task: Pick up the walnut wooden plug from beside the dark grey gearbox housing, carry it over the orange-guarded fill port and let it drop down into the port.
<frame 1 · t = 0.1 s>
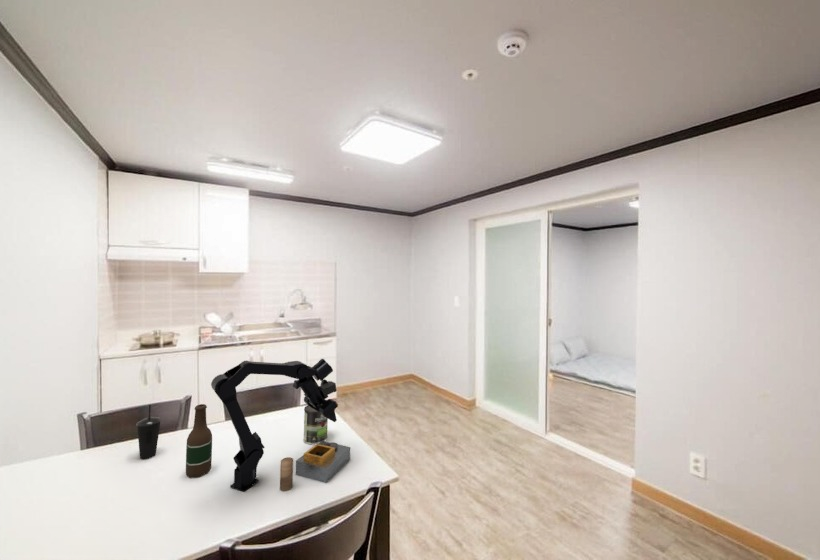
hand: (330, 417, 130), 15 cm above the table, tool tilted 35°, fingers open, 9 cm apart
gearbox housing: (323, 466, 121), on the table
wooden plug: (286, 487, 109), on the table
coffee can: (315, 439, 143), on the table
beer bottle: (198, 472, 116), on the table
drinking cup: (148, 456, 126), on the table
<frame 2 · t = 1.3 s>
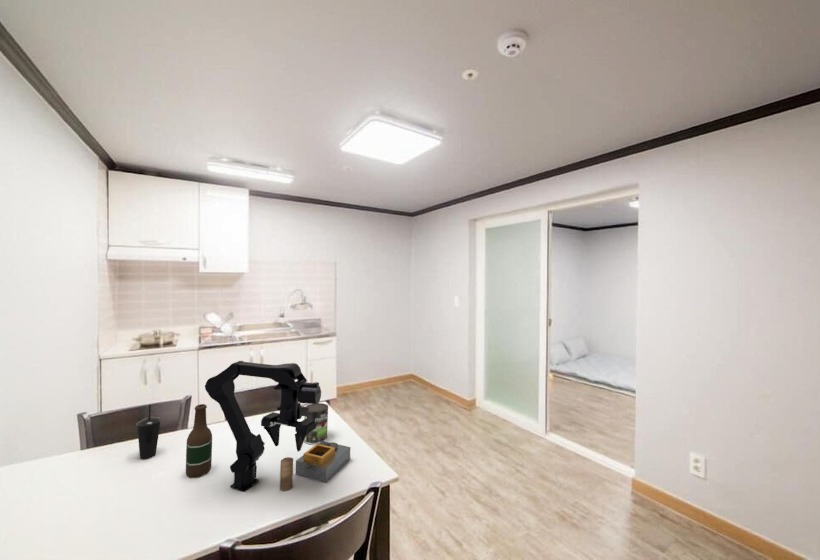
hand: (287, 448, 109), 13 cm above the table, tool pointing down, fingers open, 9 cm apart
nothing on the table moved.
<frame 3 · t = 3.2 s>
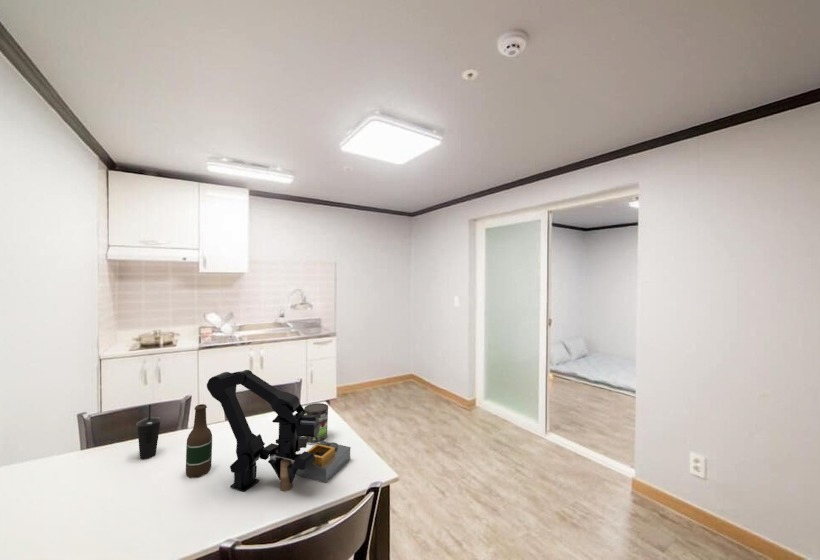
hand: (286, 481, 109), 2 cm above the table, tool pointing down, fingers closed on wooden plug, 4 cm apart
wooden plug: (286, 487, 109), on the table, touching gripper
everything else where it was.
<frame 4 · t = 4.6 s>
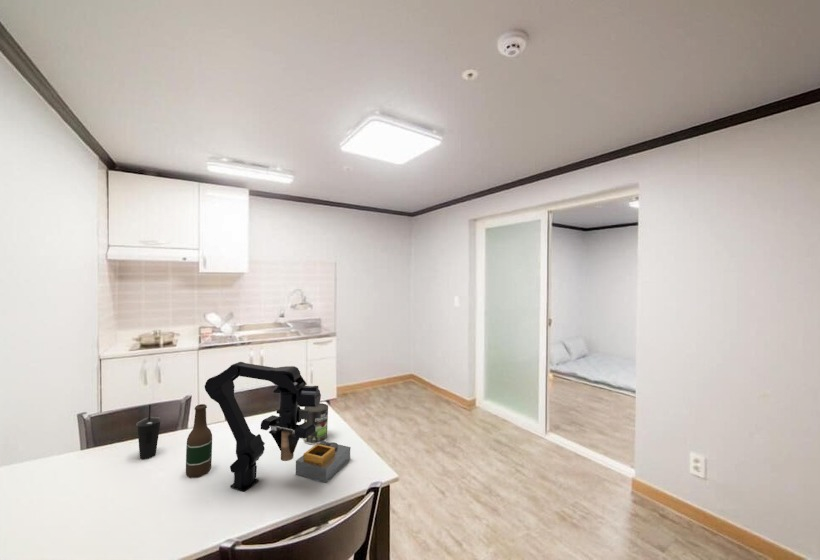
hand: (287, 451, 109), 12 cm above the table, tool pointing down, fingers closed on wooden plug, 4 cm apart
wooden plug: (287, 457, 109), point 10 cm above the table, touching gripper
everything else where it was.
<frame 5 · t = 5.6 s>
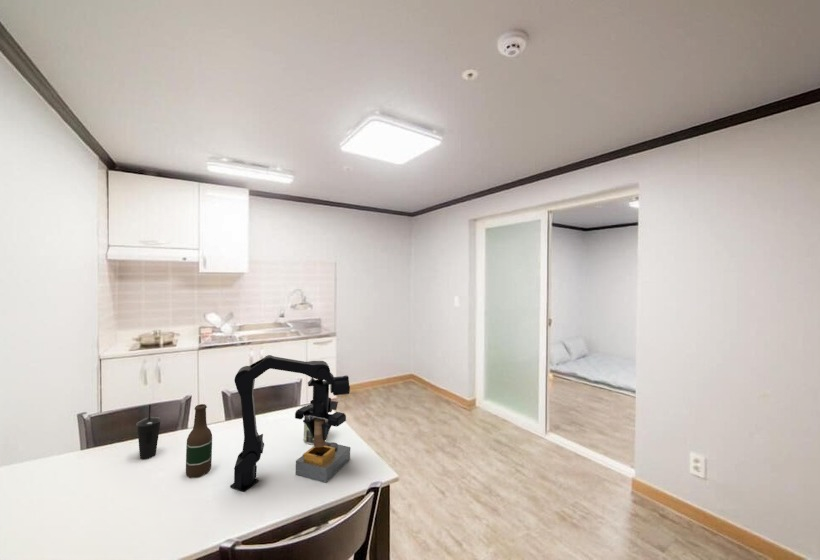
hand: (319, 439, 118), 12 cm above the table, tool pointing down, fingers closed on wooden plug, 4 cm apart
wooden plug: (319, 444, 118), point 10 cm above the table, touching gripper
everything else where it was.
when the fingers open (9 cm above the table, at t = 6.3 s): wooden plug drops 7 cm, resting in gearbox housing.
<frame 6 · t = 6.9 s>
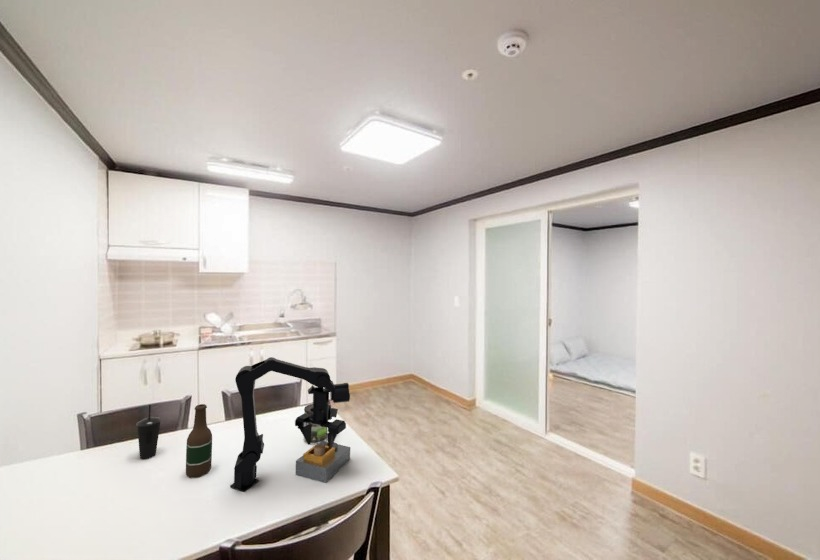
hand: (319, 446, 118), 9 cm above the table, tool pointing down, fingers open, 9 cm apart
wooden plug: (319, 471, 118), resting in gearbox housing
everything else where it was.
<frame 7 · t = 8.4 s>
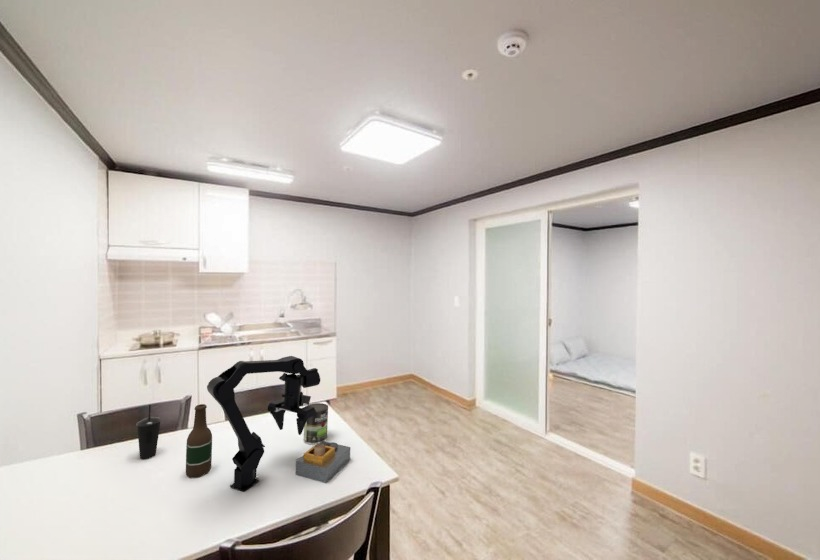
hand: (290, 431, 122), 13 cm above the table, tool pointing down, fingers open, 9 cm apart
nothing on the table moved.
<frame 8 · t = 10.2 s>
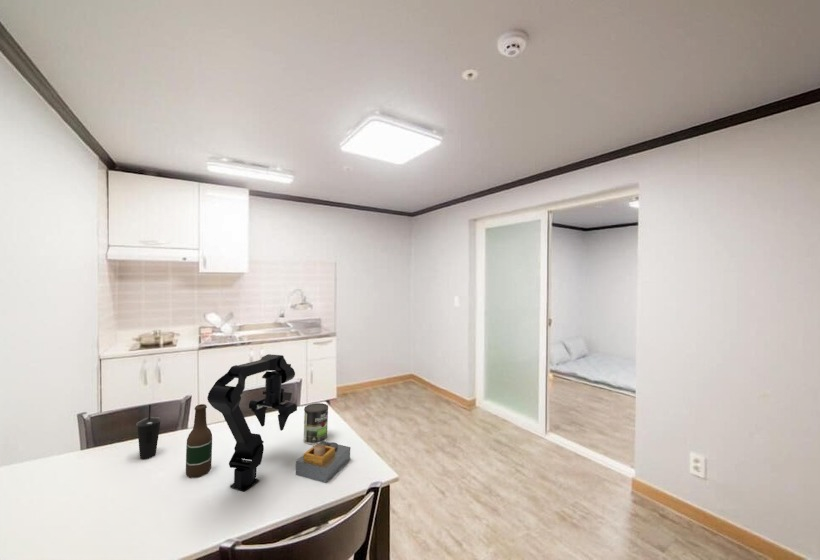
hand: (272, 428, 124), 13 cm above the table, tool pointing down, fingers open, 9 cm apart
nothing on the table moved.
at the end: wooden plug 0.1 cm from the target spot on the gearbox housing, point 0.0 cm above the gearbox housing's base; the gripper is holding nothing; wooden plug tilted 0° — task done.
